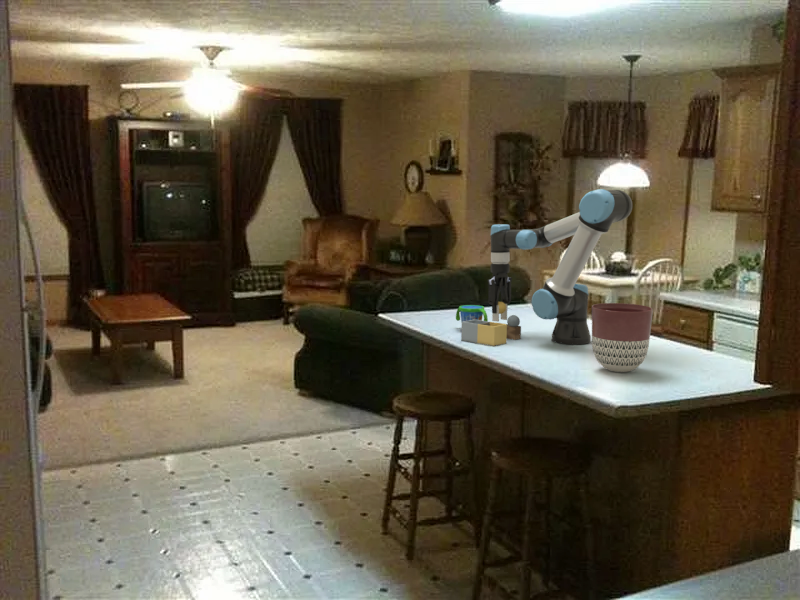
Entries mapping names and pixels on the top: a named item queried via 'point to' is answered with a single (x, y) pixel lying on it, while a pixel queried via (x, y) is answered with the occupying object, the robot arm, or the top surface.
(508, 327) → the rack
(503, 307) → the ochre ball
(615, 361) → the planter
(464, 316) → the snack cup
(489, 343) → the tube block
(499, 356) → the top surface
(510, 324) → the slate ball
